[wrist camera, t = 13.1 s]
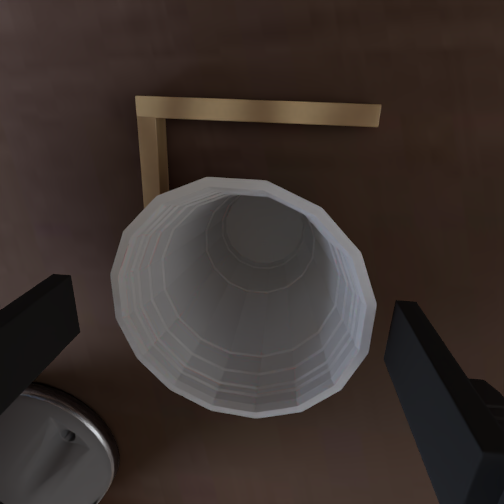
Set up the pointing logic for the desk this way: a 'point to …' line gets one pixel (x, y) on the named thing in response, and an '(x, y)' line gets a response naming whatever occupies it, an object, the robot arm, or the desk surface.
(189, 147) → the desk surface
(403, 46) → the desk surface
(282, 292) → the plastic cup
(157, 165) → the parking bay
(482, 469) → the robot arm
